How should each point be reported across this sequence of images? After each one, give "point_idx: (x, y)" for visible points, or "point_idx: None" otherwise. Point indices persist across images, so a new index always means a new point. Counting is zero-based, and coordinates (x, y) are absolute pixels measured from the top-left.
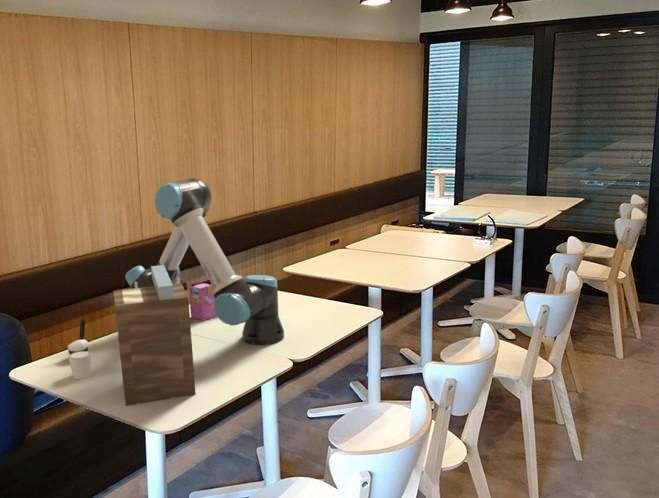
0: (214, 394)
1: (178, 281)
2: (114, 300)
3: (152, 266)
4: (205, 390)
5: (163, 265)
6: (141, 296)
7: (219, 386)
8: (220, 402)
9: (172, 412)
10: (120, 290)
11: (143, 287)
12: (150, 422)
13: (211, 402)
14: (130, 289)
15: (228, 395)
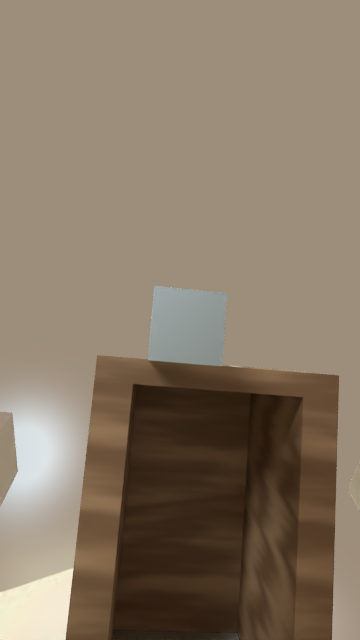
0: (47, 604)
1: (9, 444)
2: (336, 411)
3: (218, 294)
4: (56, 629)
5: (158, 288)
6: (225, 365)
7: (10, 637)
8: (54, 574)
9: None
10: (313, 373)
11: (237, 367)
12: None
13: (71, 579)
14: (278, 369)
15: (22, 591)
